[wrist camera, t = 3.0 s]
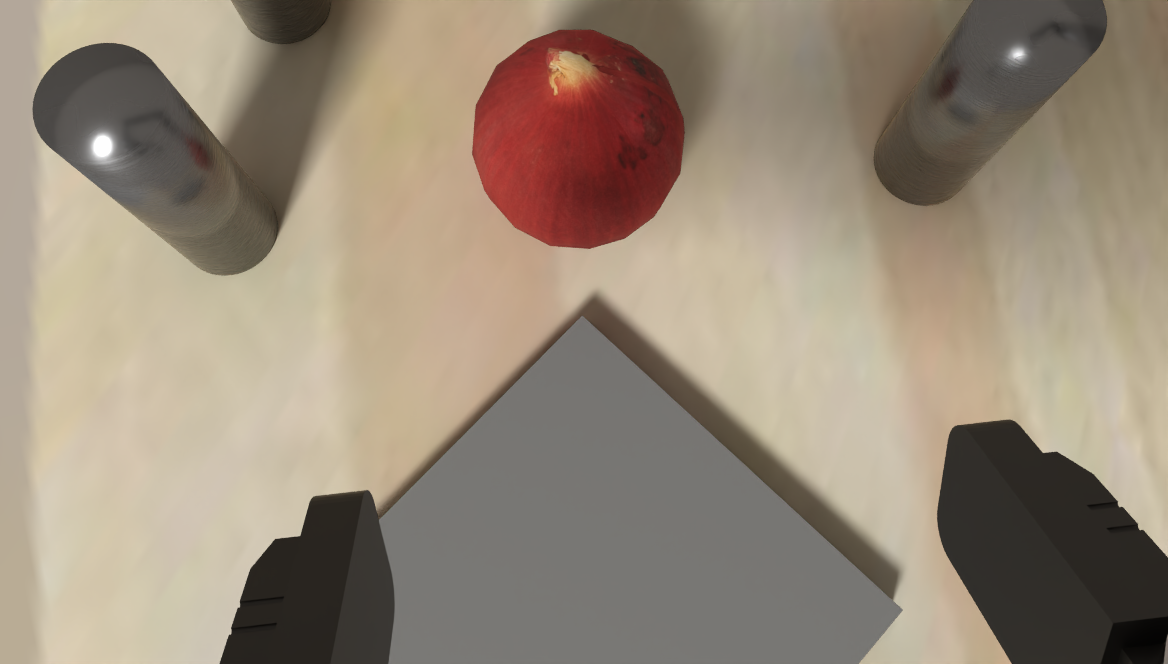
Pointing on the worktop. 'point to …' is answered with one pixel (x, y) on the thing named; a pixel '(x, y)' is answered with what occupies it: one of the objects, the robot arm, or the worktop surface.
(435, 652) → the mat
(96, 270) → the worktop surface
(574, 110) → the onion
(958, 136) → the spacer field
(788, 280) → the worktop surface
